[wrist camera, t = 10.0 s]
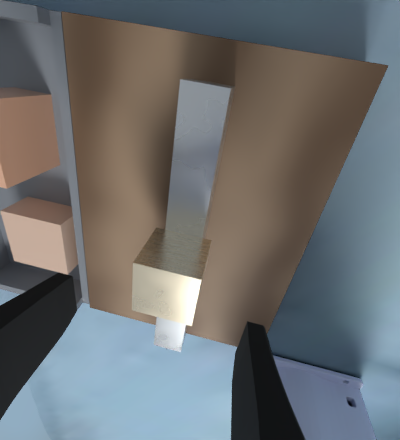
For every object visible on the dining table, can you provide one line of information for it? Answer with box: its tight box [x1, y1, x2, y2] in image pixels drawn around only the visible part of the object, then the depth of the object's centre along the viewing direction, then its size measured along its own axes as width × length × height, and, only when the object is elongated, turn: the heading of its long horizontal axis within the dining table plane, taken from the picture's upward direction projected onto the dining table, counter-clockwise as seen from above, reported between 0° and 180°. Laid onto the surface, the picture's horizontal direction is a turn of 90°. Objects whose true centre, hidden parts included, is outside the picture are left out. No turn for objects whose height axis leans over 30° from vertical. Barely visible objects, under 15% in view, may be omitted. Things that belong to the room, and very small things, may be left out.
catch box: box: [0, 0, 90, 309], centre depth 18 cm, size 10×20×4 cm, turn 171°
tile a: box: [0, 87, 60, 189], centre depth 15 cm, size 4×4×2 cm
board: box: [61, 11, 388, 347], centre depth 17 cm, size 14×20×2 cm
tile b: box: [0, 197, 78, 275], centre depth 20 cm, size 4×4×2 cm
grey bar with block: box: [132, 79, 235, 352], centre depth 14 cm, size 3×17×6 cm, turn 171°
